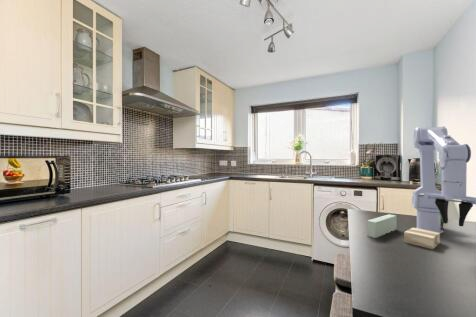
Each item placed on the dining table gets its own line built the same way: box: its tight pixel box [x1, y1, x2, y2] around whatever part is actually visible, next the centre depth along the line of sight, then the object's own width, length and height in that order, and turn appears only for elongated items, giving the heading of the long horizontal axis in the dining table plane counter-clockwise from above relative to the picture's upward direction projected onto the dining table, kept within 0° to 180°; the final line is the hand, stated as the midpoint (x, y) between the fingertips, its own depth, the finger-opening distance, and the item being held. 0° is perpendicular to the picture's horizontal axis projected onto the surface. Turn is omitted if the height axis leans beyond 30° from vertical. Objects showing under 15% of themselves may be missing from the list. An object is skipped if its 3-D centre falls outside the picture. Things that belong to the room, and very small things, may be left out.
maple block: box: [403, 227, 441, 250], centre depth 81 cm, size 10×8×4 cm
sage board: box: [366, 213, 398, 239], centre depth 91 cm, size 20×3×6 cm, turn 125°
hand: (453, 224), depth 71 cm, fingers open, 3 cm apart
